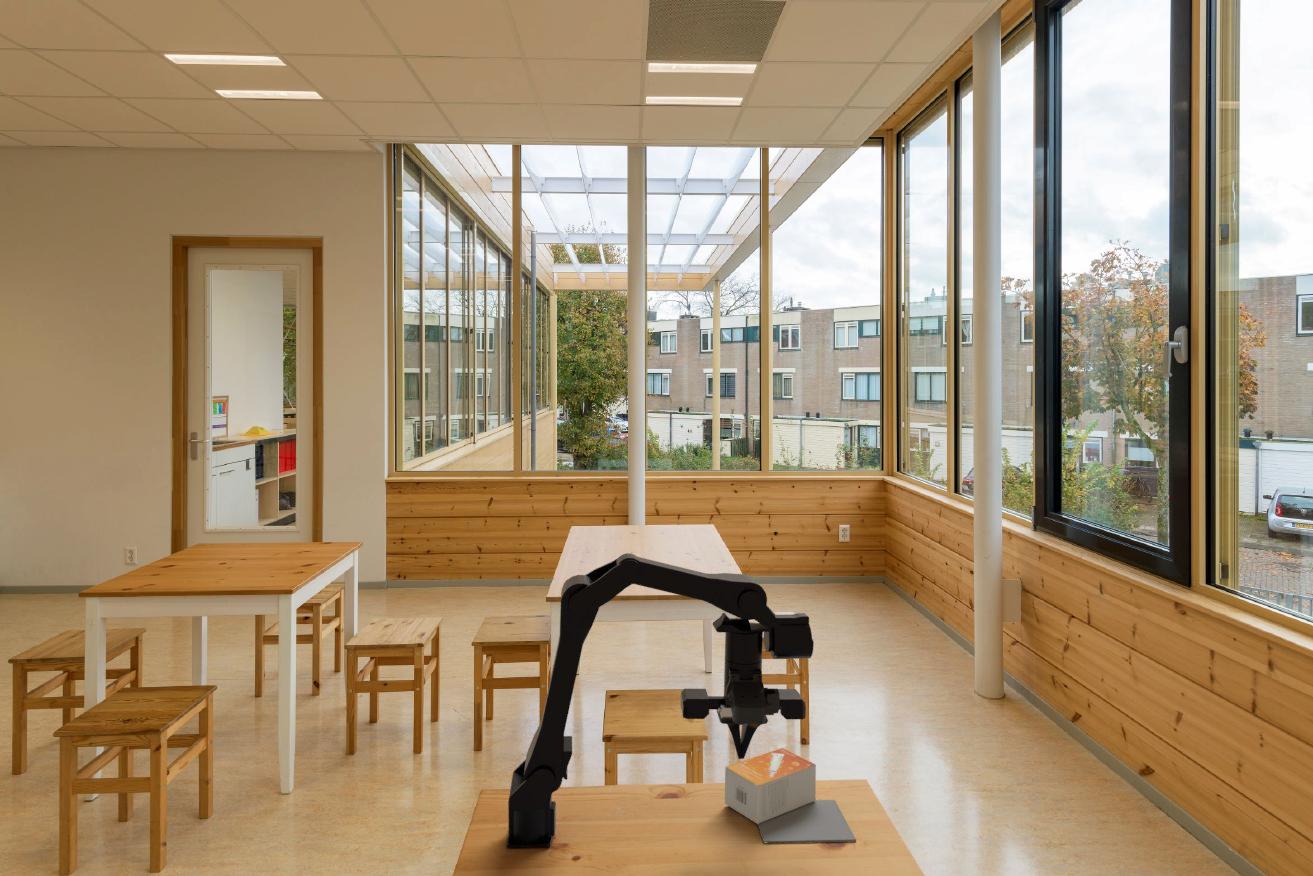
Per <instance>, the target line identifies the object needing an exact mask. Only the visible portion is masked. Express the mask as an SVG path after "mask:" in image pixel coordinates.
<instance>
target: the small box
mask: <svg viewBox="0 0 1313 876" xmlns="http://www.w3.org/2000/svg"><path fill="white" fill-rule="evenodd" d="M816 766H817V765H816V764H815V763H813V762H812V761H809V760H807V759H806V758H803V757H801V756H799V755H797V754H795V753H793V752H792V751H789V750H787V749H786V748H784V747H783V748H782V747H781V748H778V749H775V750H772V751H769V752H766V753H763V754H761V755H757V756H754V757H752V758H748V759H746V760H741V761H739V762H736V763H733V764H729V765H727V766H725V769H724V771H725V772H724V805H726V806H728V807H730V808H731V809H733V810H734V811H736V812H737V813H738V814H741V815H743V816H744V817H746V818H747V819H749V820H751V821H752V822H754V824H756V825H758V824H759V823H762V822H764V821H766V820H769V819H771V818H774V817H776V816H779V815H781V814H784V813H786V812H789V811H791V810H794V809H796V808H799V807H801V806H804V805H806V804H808V803H811V802H813V801H815V800H817V799H816V798H817V797H816V795H817V794H816V789H817V788H816V785H817V784H816V781H817V780H816V779H817V778H816V776H817V771H816V769H817V767H816Z"/></svg>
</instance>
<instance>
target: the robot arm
mask: <svg viewBox="0 0 1313 876" xmlns="http://www.w3.org/2000/svg"><path fill="white" fill-rule="evenodd" d="M631 585H637V586H640V587H645V588H650V589H653V590H658V591H662V592H666V593H670V594H674V595H678V596H682V597H687V598H690V599H694V600H698V601H699V600H700V601H703V602H706V603H708V604H710V605H712V606H714V607H716V608H718V609H719V610H722V611H723V613H721V615H720V616H719V617H718V618H717V619H715V620H714V621H713V622H712V627H713V628H714V630H715V632H717V633H725V637H724V638H725V640H724V641H725V642H724V668H723V669H724V670H723V671H724V675H723V678H724V680H723V696H720V695H719V696H718V695H717V696H715V695H712V696H710V695H708V692H707V689H706V688H683V689H682V691H681V692H680V709H681V714H682V718H683V719H686V720H705V719H706V718H707V716H709V715H710V710H716V713H717V717H718V719H719V723H720V724H722V725H723V724H724V725H727V727H728V729H729V733H731V737H732V740H733V741H732V742H733V745H734V748H735V752H736V756H737V758H738V759H739V760H743V759H745V756H746V754H747V751H748V748H749V746H750V744H751V741H752V739H753V737H754V734H755V732H756V731H757V729H759V727H760V726H762V725H764V724H768V722H769V720H768V717H767V716H774V715H775V714H779V713H780V715H781V716H782V717H783V718H784V719H785V720H804V719H806V715H807V714H806V713H807V712H806V711H807V710H806V702H805V700H804V699H803V697H802V695H801V694H800V692H799V691H798V690H797V689H796V688H784V689H783V688H768V687H764V686H765V685H764V683H763V675H762V674H763V671H762V669H763V647H764V651H765V652H766V653H770V655H771V657H772V659H774V660H789V659H790V660H797V659H798V660H799V659H801V660H803V659H804V660H805V659H806V660H807V659H811V658H812V656H813V652H814V645H815V643H814V639H813V634H812V629H811V626H810V617H809V616H808V614H806V613H805V612H803V613H802V612H798V613H794V614H776V613H775V612H774V611H773V610H772V609H771V608H770V607H769V605H767V604H768V596H767V593H766V591H765V590H764V588H763V587H762V585H760V584H759V583H758V582H757V581H756V580H755V579H754V578H753V577H752V576H750V575H747V574H743V573H731V572H730V573H729V572H727V573H726V572H723V573H706V572H701V571H698V570H695V569H694V570H693V569H690V568H685V567H682V566H676V565H673V564H668V563H665V562H660V561H656V560H652V559H648V558H645V557H640V556H637V555H636V554H633V553H629V552H628V553H623V554H621V555H620V556H618V557H617V558H616V559H614V560H612V561H610V562H608V563H606V564H604V565H601V566H599V567H597V568H595V569H593V570H592V571H590V572H588V573H586V574H577V575H572V576H571V577H569V578H568V579H566V580H565V582H564V583H563V584H562V587H561V591H560V592H561V593H560V610H559V611H560V612H559V613H560V614H559V615H560V616H559V636H558V637H559V638H558V641H557V647H556V650H555V655H554V661H553V665H552V669H551V673H550V679H549V684H548V689H547V693H546V697H545V703H544V707H543V713H542V716H541V717H542V718H541V721H540V723H539V724H538V727H537V728H536V730H535V733H534V734H533V737H532V740H531V742H530V745H529V747H528V750H527V752H526V755H525V759H524V760H523V761H522V762H521V763H520V764H519V765H518V766H517V767H516V768H515V769H514V770H513V771H512V778H511V781H510V782H511V783H510V789H509V795H508V805H507V806H508V808H507V809H508V813H507V814H508V815H507V816H508V817H507V819H508V825H507V826H508V831H507V832H508V835H507V839H506V842H505V843H506V845H505V846H506V847H505V848H508V849H509V848H510V849H511V848H513V849H514V848H515V849H517V848H549V847H550V846H551V844H552V839H553V838H552V837H555V835H556V828H557V803H556V801H555V800H554V801H553V793H555V792H556V791H558V790H559V789H560V787H561V786H562V782H563V780H565V781H566V780H568V767H569V763H570V761H571V759H572V756H573V736H572V735H565V730H566V727H567V726H566V725H567V720H568V715H569V711H570V706H571V702H572V697H573V693H574V688H575V683H576V679H577V678H576V677H577V673H578V670H579V669H578V668H579V665H580V662H581V661H580V660H581V655H582V650H583V648H584V647H583V645H584V643H585V641H586V640H587V637H588V635H589V633H590V631H591V629H592V627H593V624H594V622H595V620H596V617H597V614H598V612H599V610H600V607H602V606H604V605H606V604H607V603H609V602H610V601H612V599H614V598H615V597H617V596H618V595H619V594H621V593H622V592H623V591H624V590H625V589H626V588H628V587H630V586H631ZM727 613H728V614H730V615H732V616H735V618H734V617H733V618H732V617H731V618H730V617H729V616H728V615H727ZM752 620H754V621H756V622H750V621H752Z"/></svg>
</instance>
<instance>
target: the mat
mask: <svg viewBox="0 0 1313 876" xmlns="http://www.w3.org/2000/svg"><path fill="white" fill-rule="evenodd" d="M758 826H759V827H758ZM757 827H758V829H760V830H759V833H760V832H761V833H760V836H761V835H762V837H761V839H763V840H762V842H779V843H778V844H782V843H781V842H784V843H785V844H787V843H789V844H790V843H793V844H795V843H798V844H799V843H839V842H840V843H844V842H847V843H849V842H850V843H851V842H857V838H856V836H855V835H854V833H853V830H852V829H851V827H850V826H849V824H848V822H847V819H846V818H845V816H844V815H843V813H842V811H841V809H840V807H839V805H838V804H837V801H836V800H835V799H816V800H815V801H813V802H811V803H808V804H806V805H804V806H801V807H799V808H796V809H794V810H791V811H789V812H786V813H784V814H781V815H779V816H776V817H774V818H771V819H769V820H766V821H764V822H762V823H759V824H757ZM784 843H783V844H784Z"/></svg>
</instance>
